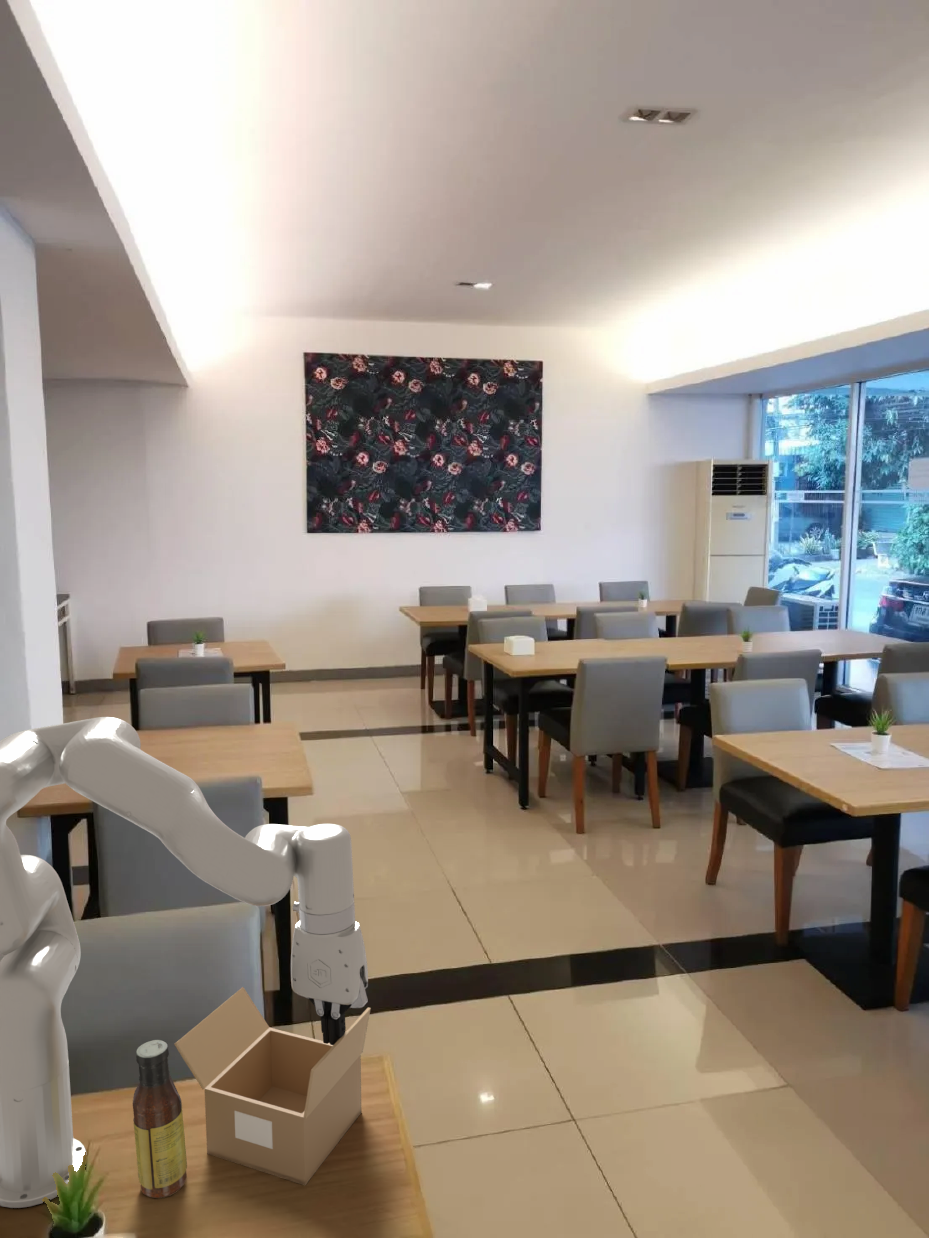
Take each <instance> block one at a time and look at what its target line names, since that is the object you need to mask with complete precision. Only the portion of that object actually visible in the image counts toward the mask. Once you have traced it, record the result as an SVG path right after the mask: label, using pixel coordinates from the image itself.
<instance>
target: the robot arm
mask: <svg viewBox="0 0 929 1238" xmlns="http://www.w3.org/2000/svg"><path fill="white" fill-rule="evenodd" d="M138 733H139V732H137V731H136V729H135V728H134V727H133V726H132V725H131V724H130V723H129V722H127V721H125V720H123V719H121V718H117V717H113V716H112V717H111V716H101V717H100V716H98V717H92V718H87V719H82V720H76V721H70V722H64V723H60V724H54V725H53V724H52V725H47V726H41V727H35V728H31V729H25V730H22V731H17V732H14V733H12V734H10V735H8V736H6V737H4V738H2V739H1V740H0V957H3V958H1V960H0V1207H3V1208H4V1207H5V1208H10V1209H13V1208H14V1209H17V1208H18V1209H21V1208H27V1207H33V1206H36V1205H40V1204H43V1201H42V1199H43V1198H44V1197H47V1198H48V1199H50V1200H49V1201H51V1200H53V1199H54V1198H55V1199H56V1197H58V1196H57V1190H56V1184H55V1181H54V1178H53V1176H52V1175H53V1173H55V1172H56V1173H58V1174H59V1175H60V1176H61V1177H62V1178H63V1180H64V1182H65V1183H66V1184H68V1182H69V1180H68V1178H69V1172H68V1166H69V1165H73V1167H74V1171H76V1172H77V1171H78V1170H79V1168H80V1166H81V1165H82V1162H83V1156H84V1155H85V1152H86V1153H87V1150H86V1147H85V1146H84V1144H83V1143H82V1142H81V1141H80V1140H78V1139H76V1138H74V1128H73V1113H72V1097H71V1094H72V1093H71V1082H70V1081H71V1080H70V1066H69V1065H70V1064H69V1063H70V1062H69V1051H68V1049H69V1048H68V1040H67V1034H66V1030H65V1026H64V1023H63V1019H62V1013H61V1010H62V1002H63V999H64V997H65V994H67V991H68V989H69V987H70V984H71V982H72V980H73V979H74V977H75V975H76V973H77V971H78V968H79V966H80V962H81V957H82V956H81V955H82V954H81V953H82V952H81V951H82V950H81V944H80V940H79V936H78V933H77V928H76V925H75V922H74V919H73V915H72V912H71V909H70V906H69V903H68V900H67V895H66V892H65V889H64V886H63V882H62V880H61V878H60V876H59V874H58V873H57V871H56V870H55V869H54V867H53V866H52V865H51V864H50V863H48V862H47V861H46V860H44V858H41V857H39V856H35V855H32V854H31V855H30V854H21V852H20V847H19V844H18V842H17V839H16V837H15V835H14V833H13V832H12V830H11V829H10V828H9V827H8V825H7V820H8V819H9V817H11V816H12V815H13V814H14V813H16V812H18V811H19V810H20V809H22V808H23V807H25V806H26V805H27V804H28V803H29V802H30V801H31V800H32V799H33V798H35V796H36V795H38V794H39V793H40V791H41V790H42V789H45V788H49V787H53V786H57V785H64V784H65V785H66V786H68V787H69V788H70V789H71V790H73V791H74V792H75V793H77V794H78V795H81V796H82V797H85V798H86V799H88V800H90V801H91V802H93V803H95V804H97V805H99V806H101V807H103V808H104V809H107V810H109V811H110V812H112V813H114V814H116V815H117V816H119V817H122V818H123V819H125V820H126V821H129V822H130V823H132V824H134V825H136V826H138V827H139V828H141V829H143V830H145V831H147V832H148V833H150V834H151V835H153V836H155V838H158V839H159V841H160V842H161V843H162V844H163V845H164V847H165V848H166V849H167V850H168V852H170V853H171V854H172V855H173V857H175V858H176V859H177V860H178V861H179V862H180V863H181V864H182V865H183V866H184V867H186V869H188V870H189V871H190V872H191V873H192V874H193V875H195V876H196V877H197V878H199V879H200V880H201V881H203V882H204V883H206V884H208V885H210V886H211V887H213V888H215V889H217V890H219V891H220V892H222V893H224V894H226V895H228V896H229V897H232V898H233V899H235V900H236V901H240V902H242V903H245V904H247V905H251V906H254V907H255V906H256V907H266V906H271V905H275V904H276V903H278V902H279V901H281V900H283V898H285V897H286V895H288V893H289V891H290V889H291V886H292V884H293V880H294V878H296V879H297V891H298V892H297V893H298V894H297V895H298V897H297V898H298V901H294V903H293V905H292V911H293V912H294V913H297V914H298V919H299V920H298V921H297V922H296V923H295V925H294V929H293V936H292V943H291V954H290V982H291V984H290V985H291V989H292V991H293V992H294V993H295V994H296V995H298V996H301V997H303V998H306V999H307V1000H309V1001H310V1002H311V1003H312V1005H313V1007H315V1011H316V1014H317V1015H318V1016H319V1017H320V1029H321V1033H322V1041H323V1043H326V1044H328V1043H330V1045H334V1044H335V1043H336V1042H337V1041H338V1040H339V1039H340V1038H341V1037H342V1036H343V1035H344V1034H345V1032H346V1031H347V1030H346V1028H347V1027H346V1012H347V1011H348V1010H349V1009H351V1008H352V1009H362V1008H363V1007H365V1005H366V1004H367V1003H368V996H367V991H366V989H367V988H368V986H369V978H368V977H369V972H368V960H367V953H366V947H365V943H364V942H365V941H364V937H363V934H362V933H363V932H362V929H361V926H360V923H359V922H357V921H356V911H355V910H356V908H355V889H354V871H353V870H354V868H353V866H354V865H353V846H352V837H351V833H350V832H349V830H348V829H347V828H346V827H344V826H342V825H341V824H335V823H320V824H319V823H318V824H314V825H310V826H301V825H300V826H298V825H289V824H278V823H266V824H261V825H258V826H256V827H253V828H252V829H251V830H250V831H249V832H248V833H247V834H246V835H245V836H242V835H240V834H239V833H237V832H236V831H234V829H233V830H232V828H230V827H229V826H228V825H226V824H225V822H223V821H222V820H221V819H220V818H219V817H218V816H217V815H216V814H215V813H214V811H213V810H212V809H211V807H210V806H209V804H208V801H207V800H206V798H205V795H204V793H203V792H202V790H201V788H200V786H199V785H198V784H197V783H196V781H195V780H194V779H192V778H191V777H190V776H188V775H186V774H185V773H183V772H181V771H180V770H177V769H175V768H174V767H172V766H170V765H168V764H167V763H164V761H161V760H159V759H157V758H156V757H154V756H152V755H151V754H148V753H147V752H145V751H144V750H142V749H141V746H142V744H141V739H140V735H139V734H138Z"/></svg>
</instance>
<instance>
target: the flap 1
mask: <svg viewBox="0 0 929 1238" xmlns="http://www.w3.org/2000/svg"><path fill="white" fill-rule="evenodd" d="M269 1027H270V1026H269V1024H268V1023H267V1021H266V1020H265V1019H264V1016H263V1014H261V1012H260V1010H259V1009H258V1007H257V1006H256V1004H255V1003H254V1002H253V1000H252V998H251V996H250V995H249V994H248V992H247V991H246V989H245V988H244V987H243V986H242V987H241V988H240V989H238V990H237V991H236V992H235V993H234V994H232V995H231V996H230V997H229V998H227V1000H225V1001H224V1002H222V1003H221V1004H220V1005H218V1007H217V1008H216V1009H214V1010H213V1011H212V1012H211V1013H209V1014H208V1015H207V1016H206V1017H205V1018H204V1019H202V1020H201V1021H200V1022H199V1023H198V1024H197V1025H195V1026H194V1027H193V1028H191V1029H190V1030H189V1031H188V1032H187V1033H186V1034H185V1035H183V1036H182V1037H181V1038H180V1039H178V1040H177V1041H176V1042H174V1043H173V1045H174V1047H175V1048H176V1050H177V1051H178V1053H179V1054H180V1056H181V1057H182V1060H183V1061H184V1062H185V1064H186V1066H187V1067H188V1069H189V1070H190V1073H192V1075H193V1077H194V1078H195V1080H196V1082H197V1083H198V1085H199V1086H200V1088H201V1089H202V1090H205V1088H206V1087H207V1086H208V1085H209V1084H210V1083H211V1082H212V1081H213V1080H214V1079H215V1078H216V1077H217V1076H218V1075H219V1074H221V1073H222V1072H223V1071H224V1070H225V1069H226V1068H227V1067H228V1066H229V1065H230V1064H231V1063H232V1062H233V1061H234V1060H235V1059H237V1058H238V1057H239V1056H240V1055H241V1054H242V1053H243V1052H244V1051H245V1050H246V1049H247V1048H248V1047H249V1046H250V1045H251V1044H252V1043H254V1042H255V1041H256V1040H257V1039H258V1038H259V1037H260V1036H261V1035H262V1034H263V1033H264V1032H265V1031H266V1030H267V1029H268V1028H269Z"/></svg>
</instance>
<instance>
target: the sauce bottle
mask: <svg viewBox="0 0 929 1238" xmlns="http://www.w3.org/2000/svg"><path fill="white" fill-rule="evenodd" d="M168 1045H169V1044H167V1042H165V1041H163V1040H161V1039H153V1040H150V1041H147V1042H144V1043H142V1044H141V1045H140V1046H138V1047H137V1048H136V1051H135V1052H136V1053H135V1057H136V1062H137V1063H136V1064H138V1074H139V1076H138V1080H139V1082H138V1085H137V1086H136V1087H135V1090H134V1093H133V1099H132V1112H133V1129H134V1130H133V1131H134V1144H135V1152H136V1165H137V1173H138V1174H137V1175H138V1183H139V1184H140V1189H141V1192H142V1193H143V1195H145V1196H147V1197H149V1198H153V1199H162V1198H163V1199H164V1198H167V1197H170V1196H172V1195H173V1194H175V1193H177V1192H178V1191H180V1190H181V1189H182V1187H184V1185H185V1183H186V1181H187V1179H188V1178H187V1168H188V1161H187V1160H188V1159H187V1148H186V1138H185V1128H184V1127H185V1126H184V1114H183V1105H182V1103H183V1102H182V1099H181V1096H180V1093H179V1092H178V1091H179V1090H178V1088H177V1086H176V1085H175V1083H174V1081H173V1078H172V1075H171V1074H170V1072H171V1071H170V1068H169V1059H168V1057H169V1056H170V1053H169V1046H168Z"/></svg>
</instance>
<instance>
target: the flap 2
mask: <svg viewBox="0 0 929 1238" xmlns="http://www.w3.org/2000/svg"><path fill="white" fill-rule="evenodd" d="M371 1009H372V1008H371V1007H367V1008H366V1009H365V1010H364V1011H363V1012H362V1013H361V1014H360V1016H358V1018H357V1019H356V1020H355V1021H354V1022H353V1023H352V1024H351V1025H350V1026H349V1027H348V1028H347V1030H346V1031H345V1034H344V1035H343V1036H342V1037H341V1038H340V1039H339V1040H338V1041H337V1042H336V1043H335V1044H334V1045H333V1046H332V1047H331V1048H330V1050H329V1051H328V1052H327V1053H326V1054H325V1055H324V1056H323V1057H322V1058H321V1059H320V1061H319V1062H318V1063H317V1064H316V1065H315V1066H314V1067H313V1068H312V1069H311V1074H310V1080H309V1087H308V1093H307V1099H306V1105H305V1111H304V1118H305V1119H306V1118H307V1117H308V1116H309V1115H310V1114H311V1112H312V1111H313V1110H314V1109H315V1108H316V1107H317V1105H318V1104H319V1103H320V1102H321V1101H322V1099H323V1098H324V1097H325V1096H326V1095H327V1094H328V1092H329V1091H330V1090H331V1089H332V1088H333V1087H334V1085H335V1084H336V1083H337V1082H338V1081H339V1079H340V1078H341V1077H342V1076H343V1075H344V1074H345V1072H346V1071H347V1070H348V1069H349V1068H350V1067H351V1065H352V1064H353V1063H354V1062H355V1061H356V1059H357V1058H358V1057H359V1056H360V1055H362V1054H363V1053H364V1048H365V1042H366V1038H367V1037H366V1036H367V1030H368V1025H369V1019H370V1013H371Z"/></svg>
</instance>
